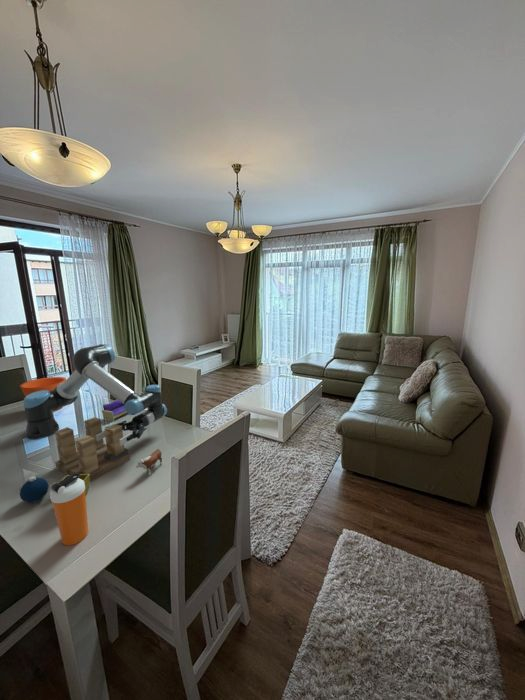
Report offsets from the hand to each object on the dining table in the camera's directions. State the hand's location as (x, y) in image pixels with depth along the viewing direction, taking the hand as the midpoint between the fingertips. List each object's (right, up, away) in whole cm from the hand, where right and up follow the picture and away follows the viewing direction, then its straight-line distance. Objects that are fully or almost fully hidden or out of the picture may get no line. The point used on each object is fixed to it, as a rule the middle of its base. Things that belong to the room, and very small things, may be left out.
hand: (108, 440), depth 124 cm
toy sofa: (-24, -2, +58) cm, 63 cm away
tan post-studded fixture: (-9, -12, +4) cm, 16 cm away
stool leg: (+1, -8, +5) cm, 10 cm away
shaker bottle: (+9, -19, -35) cm, 41 cm away
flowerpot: (-80, -1, +69) cm, 105 cm away
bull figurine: (+20, -13, -2) cm, 24 cm away
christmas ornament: (-17, -17, -18) cm, 30 cm away
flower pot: (-1, -17, -20) cm, 27 cm away
